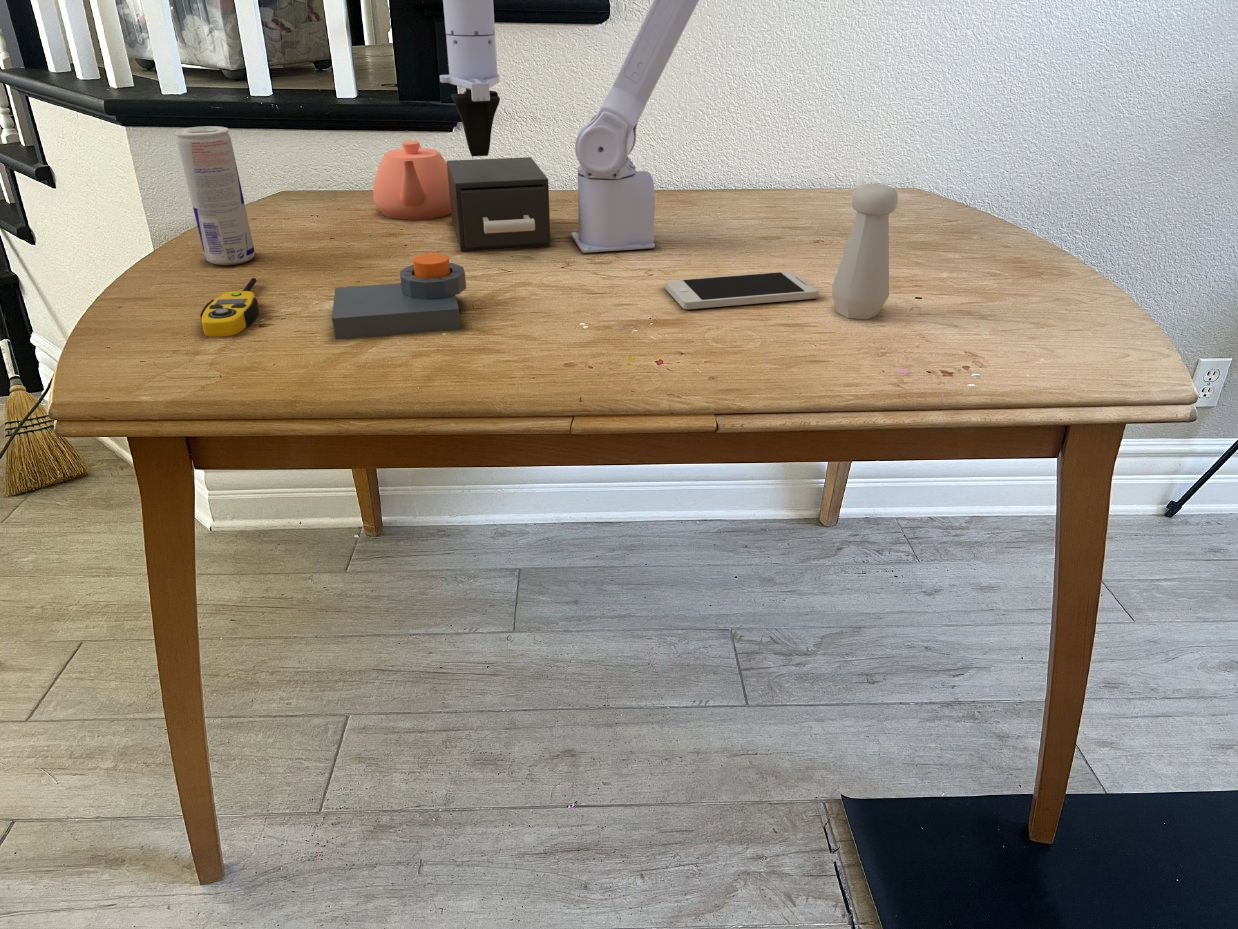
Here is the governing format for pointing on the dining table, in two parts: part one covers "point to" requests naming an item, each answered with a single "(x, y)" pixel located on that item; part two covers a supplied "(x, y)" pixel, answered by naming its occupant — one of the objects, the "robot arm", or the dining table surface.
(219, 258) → the beverage can
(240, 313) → the yellow walkie talkie
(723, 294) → the smartphone
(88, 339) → the dining table surface
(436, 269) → the button
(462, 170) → the small drawer cabinet
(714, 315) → the dining table surface
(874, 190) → the salt shaker
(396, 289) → the block
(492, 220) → the pull-out drawer
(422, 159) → the teapot
